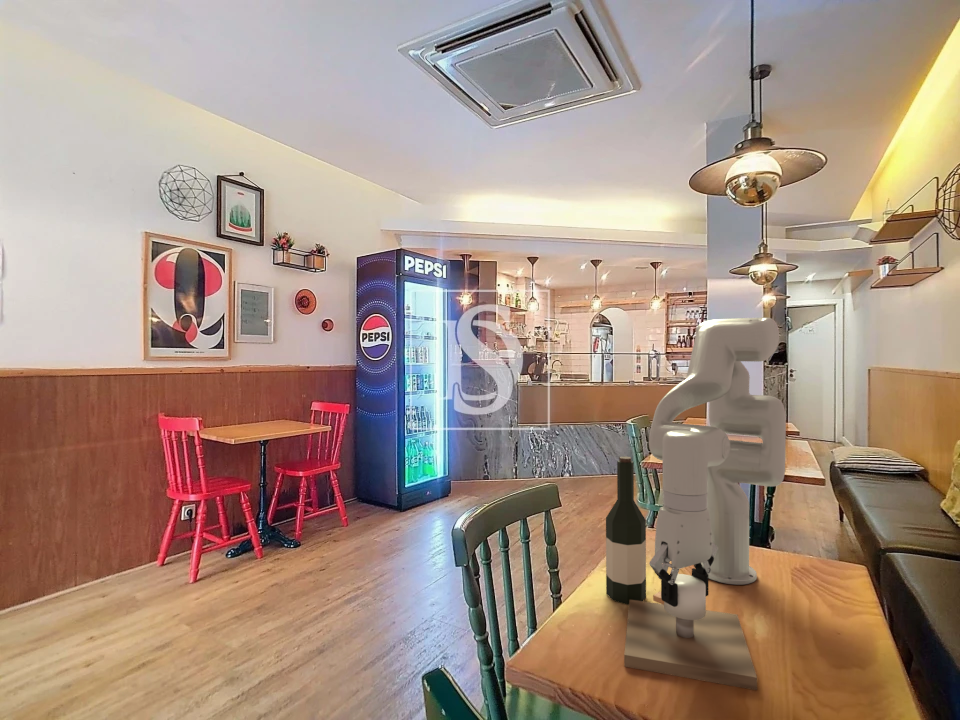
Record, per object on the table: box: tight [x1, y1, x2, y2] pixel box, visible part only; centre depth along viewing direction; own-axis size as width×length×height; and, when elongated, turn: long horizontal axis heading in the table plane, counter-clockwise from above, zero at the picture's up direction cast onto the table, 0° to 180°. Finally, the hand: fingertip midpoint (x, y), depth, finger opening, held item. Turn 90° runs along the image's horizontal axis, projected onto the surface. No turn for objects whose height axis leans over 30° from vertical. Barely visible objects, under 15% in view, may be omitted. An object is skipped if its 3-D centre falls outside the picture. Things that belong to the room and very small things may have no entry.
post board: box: [623, 600, 758, 691], centre depth 93 cm, size 20×20×6 cm
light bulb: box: [652, 573, 707, 620], centre depth 94 cm, size 7×9×5 cm
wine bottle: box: [605, 456, 647, 606], centre depth 112 cm, size 8×8×30 cm
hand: (684, 597), depth 93 cm, fingers open, 7 cm apart
